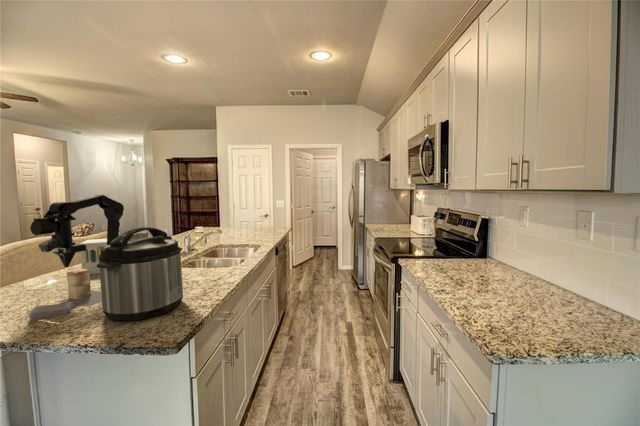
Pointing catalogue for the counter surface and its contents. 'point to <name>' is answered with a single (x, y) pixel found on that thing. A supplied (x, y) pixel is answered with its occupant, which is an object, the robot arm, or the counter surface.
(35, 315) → the stone block
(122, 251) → the pressure cooker
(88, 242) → the supplement box
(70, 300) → the rubber mat
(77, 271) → the birch block
